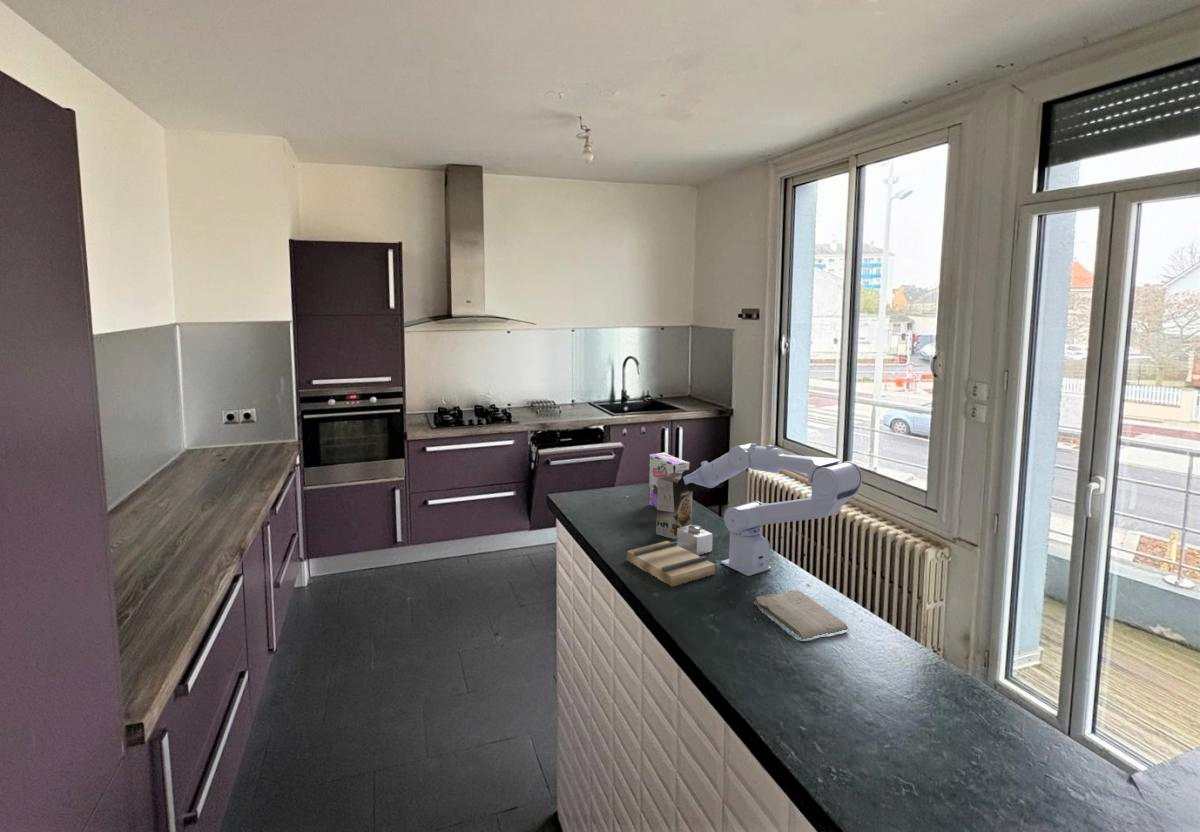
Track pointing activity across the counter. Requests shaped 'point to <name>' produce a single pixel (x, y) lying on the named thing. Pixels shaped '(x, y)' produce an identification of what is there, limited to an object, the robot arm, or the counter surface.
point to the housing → (694, 539)
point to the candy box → (662, 471)
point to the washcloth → (800, 614)
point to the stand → (671, 563)
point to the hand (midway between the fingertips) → (687, 487)
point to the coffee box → (672, 506)
